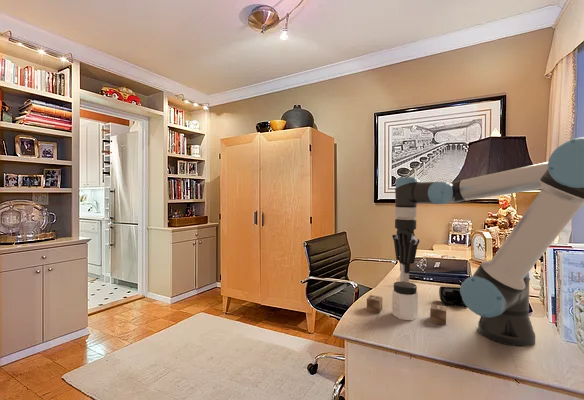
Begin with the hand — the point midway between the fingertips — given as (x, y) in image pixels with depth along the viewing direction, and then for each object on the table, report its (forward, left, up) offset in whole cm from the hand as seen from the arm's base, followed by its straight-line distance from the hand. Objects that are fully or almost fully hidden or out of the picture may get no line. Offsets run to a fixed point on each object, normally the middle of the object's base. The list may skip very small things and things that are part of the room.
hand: (404, 280), depth 112 cm
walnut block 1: (-7, -9, -14) cm, 18 cm away
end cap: (+5, -28, -14) cm, 32 cm away
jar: (0, 0, -14) cm, 14 cm away
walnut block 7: (+8, +8, -14) cm, 17 cm away
